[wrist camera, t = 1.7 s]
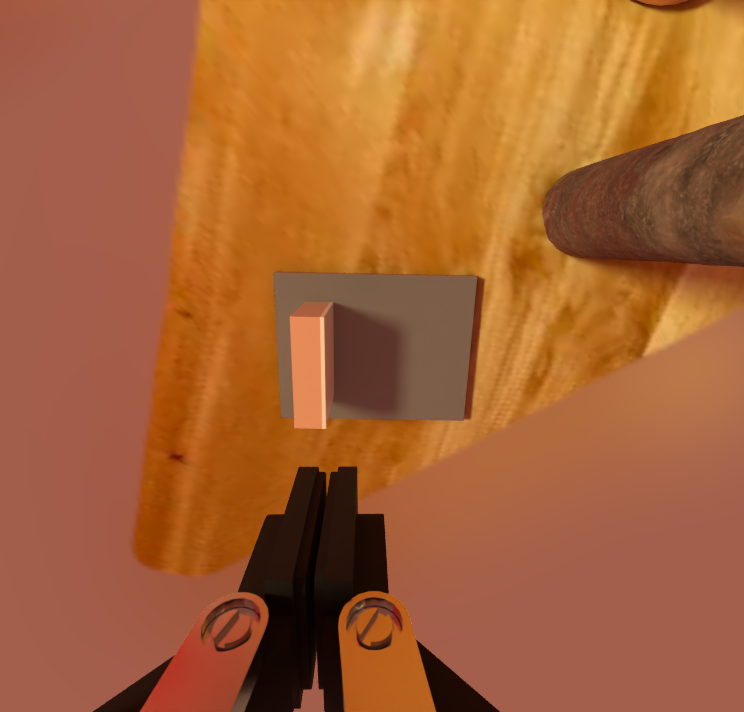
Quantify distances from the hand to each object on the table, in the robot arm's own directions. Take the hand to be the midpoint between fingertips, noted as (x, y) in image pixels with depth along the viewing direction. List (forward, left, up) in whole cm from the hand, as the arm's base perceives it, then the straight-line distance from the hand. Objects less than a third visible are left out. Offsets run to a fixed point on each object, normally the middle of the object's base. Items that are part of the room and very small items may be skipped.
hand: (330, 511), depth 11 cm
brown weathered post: (-19, -10, -27) cm, 34 cm away
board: (-1, +3, -27) cm, 27 cm away
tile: (+4, +3, -26) cm, 26 cm away
